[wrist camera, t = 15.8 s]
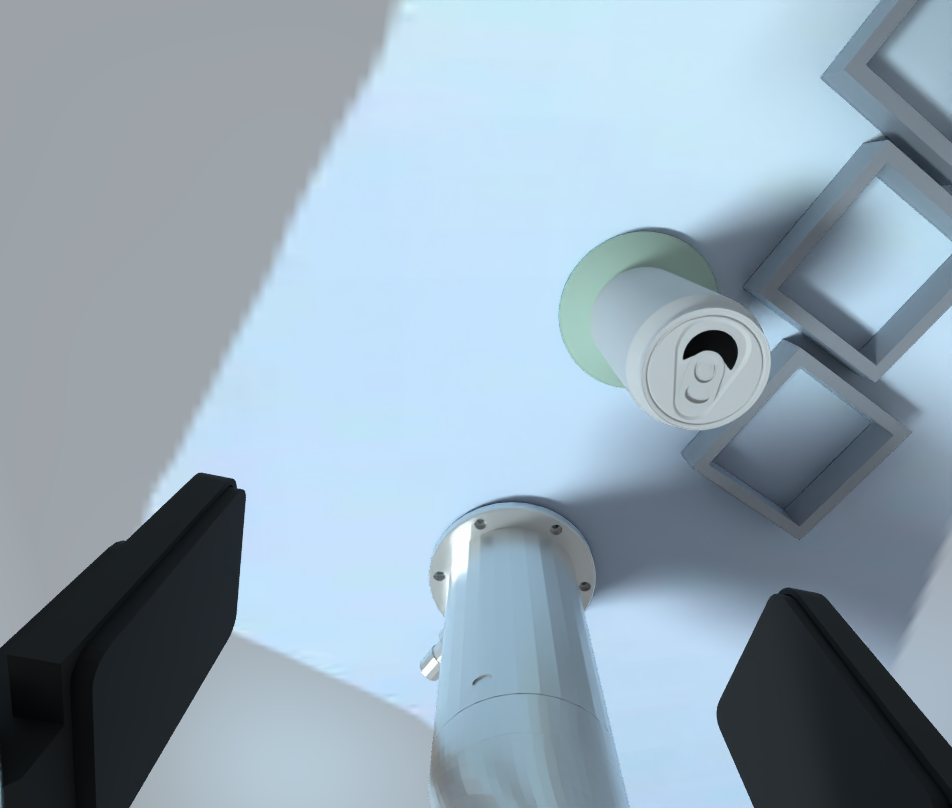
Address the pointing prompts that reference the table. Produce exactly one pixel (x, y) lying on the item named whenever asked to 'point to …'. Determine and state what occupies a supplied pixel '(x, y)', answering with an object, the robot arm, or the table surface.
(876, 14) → the tray
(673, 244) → the coaster
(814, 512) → the tray
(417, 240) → the table surface
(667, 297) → the beverage can
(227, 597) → the robot arm
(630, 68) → the table surface
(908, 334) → the tray
